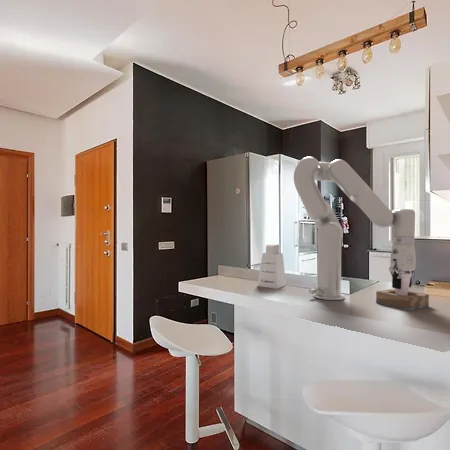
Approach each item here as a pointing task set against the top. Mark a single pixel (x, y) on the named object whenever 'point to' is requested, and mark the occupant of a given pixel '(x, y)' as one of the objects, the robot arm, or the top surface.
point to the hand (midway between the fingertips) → (401, 287)
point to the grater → (272, 268)
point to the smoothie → (404, 283)
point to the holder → (402, 299)
